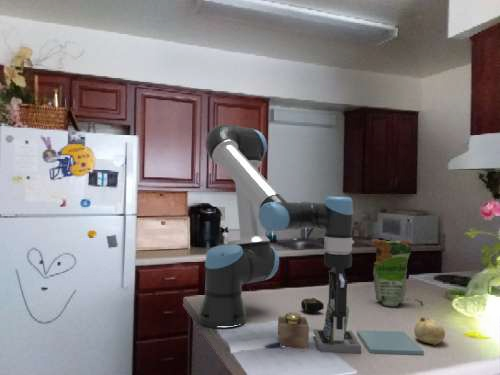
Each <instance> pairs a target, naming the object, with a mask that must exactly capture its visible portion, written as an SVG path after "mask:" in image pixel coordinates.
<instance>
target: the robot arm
mask: <svg viewBox="0 0 500 375" xmlns="http://www.w3.org/2000/svg"><path fill="white" fill-rule="evenodd" d="M204 145H205V149H206V153H207V155H208V156H209V158H210V159H211V160H212V161H213V163H214V164H215V165H218V166H221V167H222V168H223V170H224V171H225V172H226V173H227V175H228V176H229V177H230V178H231V179H232V181H234V183H235V194H236V205H237V214H238V215H237V216H238V226H239V235H240V237H239V240H237V242H236V244H222V245H216V246H214V247H210V249H208V251H207V252H206V255H205V263H204V266H205V273H204V275H205V276H204V278H205V279H204V281H205V282H204V284H205V285H204V297H203V300H202V303H201V306H200V309H199V312H198V323H199V324H200V325H203V326H204V327H208V328H212V329H216V328H215V327H217V326H234V325H239V324H243V325H244V324H246V323H247V312H246V307H245V304H244V300H243V298H242V291H243V290H242V286H243V285H247V284H251V283H252V284H253V283H257V282H264V281H266V280H269V279H271V278H272V277H274V276H275V274H276V273H277V271H278V270H279V264H280V257H279V256H280V255H279V253H278V251H276V248H275V247H273V246H272V245H271V240H270V239H269V238H268V237H267V236H266V232H265V230H267V231H275V232H276V231H285V230H299V229H318V230H324V236H323V237H324V239H323V240H324V243H323V244H324V246H323V248H324V249H323V250H324V251H325V252H324V257H323V259H324V260H323V265H324V266H325V267H328V268H331V270H330V269H329V270H328V276H329V277H328V279H329V280H328V303H329V302H330V300H331V299H334V304H335V314H332V317H334V322H333V340H334V341H344V342H345V339H344V317H346V315H347V314H346V304H347V303H348V302H347V298H348V297H347V290H348V283H349V282H348V279H347V274H345V270H346V269H349V268H352V266H353V254H352V251H353V245H354V244H355V240H353V224H354V223H353V221H354V207H353V199H352V198H351V197H350V196H326V198H325V201H324V202H309V201H299V202H287V201H286V200H285V198H284V197H282V196H281V195H280V194H279V192H278V191H277V190H276V189H275V188H274V187H273V185H272V184H271V183H270V182H269V181H268V180H267V179H266V178H265V177H264V176H263V175H262V173H261V172H260V171H259V167H260V166H261V165H262V163H263V162H262V160H264V158H265V156H266V153H267V150H268V145H267V139H266V136H264V134H263V133H262V132H261V131H259V130H258V129H254V128H251V127H244V126H237V125H232V124H227V123H225V124H224V123H222V124H218V125H216V126H214V127H212V128H211V129H210V131H209V132H208V133H207V135H206V138H205V143H204ZM328 303H327V304H328Z"/></svg>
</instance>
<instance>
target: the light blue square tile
mask: <svg viewBox="0 0 500 375" xmlns="http://www.w3.org/2000/svg"><path fill="white" fill-rule="evenodd" d="M356 335H357V336H358V337H359V339H360V340H361V342H362V344H363V346H365V348H366V350H367V351H368V353H369V354H383V355H384V354H386V355H387V354H389V355H410V356H411V355H412V356H414V355H416V356H417V355H419V356H424V353H425V351H424V350H423V349H422V348H421V347H420V346H419V345H418V344H417V343H416V342H415V340H413V339H412V338H411V337H410V336H409V335H408V334H407V333H406V332H405V331H399V330H398V331H395V330H394V331H393V330H368V329H367V330H363V329H357V330H356Z"/></svg>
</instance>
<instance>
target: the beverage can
mask: <svg viewBox="0 0 500 375" xmlns="http://www.w3.org/2000/svg"><path fill="white" fill-rule="evenodd" d="M328 302H329V301H328ZM332 314H335V304H334V299H331V300H330V302H329V303H327V306H326V313H325V317H324V318H325V319H324V324H323V329H322V330H323V339H324V341H326V342H325V343H335V344H344V343H345V340H346V339H345V333H346V331H347V326H348V320H349V314H350V307H349V303H348V302H347V304H346V314H347V315H346V317H344V341H334V340H333V322H334V317H332Z"/></svg>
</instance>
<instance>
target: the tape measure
mask: <svg viewBox="0 0 500 375" xmlns="http://www.w3.org/2000/svg"><path fill="white" fill-rule="evenodd" d="M300 305H301V310H303V311H304V312H307V313H316V312H319V311H322V310H324V308H325V306H324V303H323V302H322V301H321V300H319V299H317V298H315V297H311V298H309V297H308V298H304V299H302V300H301V302H300Z"/></svg>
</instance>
